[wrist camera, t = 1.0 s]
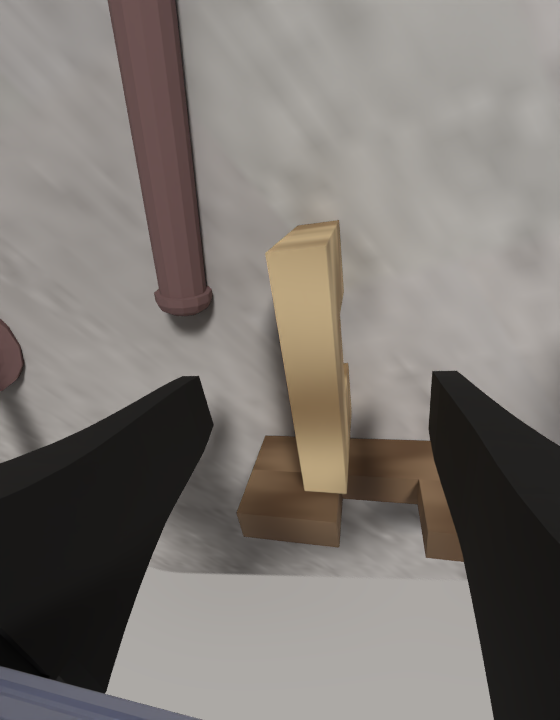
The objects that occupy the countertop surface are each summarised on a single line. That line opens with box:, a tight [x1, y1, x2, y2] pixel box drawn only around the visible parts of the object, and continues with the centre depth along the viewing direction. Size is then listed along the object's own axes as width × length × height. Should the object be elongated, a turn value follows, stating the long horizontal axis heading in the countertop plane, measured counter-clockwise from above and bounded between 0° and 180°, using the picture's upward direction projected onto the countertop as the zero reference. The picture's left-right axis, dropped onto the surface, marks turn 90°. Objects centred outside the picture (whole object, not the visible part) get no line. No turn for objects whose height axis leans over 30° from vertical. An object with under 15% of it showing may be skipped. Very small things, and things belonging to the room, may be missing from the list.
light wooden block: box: [265, 220, 351, 494], centre depth 13 cm, size 9×2×5 cm, turn 9°
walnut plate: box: [237, 436, 464, 562], centre depth 16 cm, size 12×2×5 cm, turn 99°
